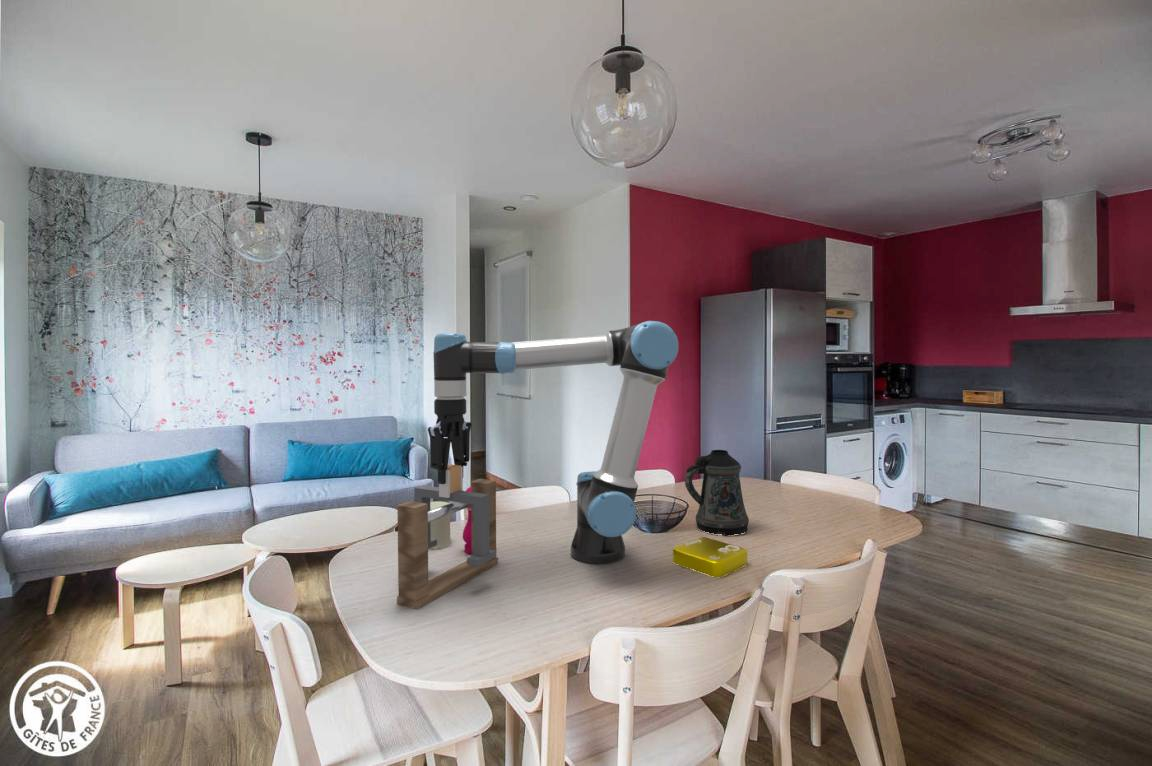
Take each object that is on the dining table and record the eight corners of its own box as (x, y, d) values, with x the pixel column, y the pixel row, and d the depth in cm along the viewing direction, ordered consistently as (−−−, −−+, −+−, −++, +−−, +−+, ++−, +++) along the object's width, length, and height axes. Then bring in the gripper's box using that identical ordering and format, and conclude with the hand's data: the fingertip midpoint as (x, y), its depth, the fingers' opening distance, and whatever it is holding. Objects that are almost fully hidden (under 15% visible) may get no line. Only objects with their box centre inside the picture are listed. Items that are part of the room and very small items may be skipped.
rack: (497, 563, 144) (497, 480, 143) (417, 609, 117) (416, 508, 117) (479, 559, 147) (478, 478, 146) (396, 603, 120) (395, 505, 119)
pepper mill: (483, 556, 149) (482, 484, 149) (458, 554, 151) (458, 482, 150) (492, 547, 156) (492, 478, 156) (468, 545, 158) (468, 477, 157)
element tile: (702, 550, 155) (702, 534, 155) (750, 565, 144) (750, 547, 144) (669, 563, 145) (669, 546, 145) (718, 580, 134) (718, 561, 134)
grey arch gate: (495, 556, 130) (495, 467, 129) (477, 566, 124) (477, 473, 123) (427, 543, 140) (427, 460, 139) (408, 551, 134) (407, 464, 133)
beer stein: (759, 530, 172) (760, 452, 171) (718, 542, 161) (719, 458, 160) (718, 518, 186) (719, 445, 185) (678, 527, 175) (678, 450, 174)
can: (421, 539, 163) (421, 500, 163) (453, 538, 164) (452, 499, 164) (415, 550, 154) (415, 508, 154) (448, 549, 155) (448, 507, 154)
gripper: (460, 395, 140) (461, 485, 141) (412, 399, 124) (413, 501, 125) (484, 396, 136) (484, 489, 137) (438, 400, 121) (439, 504, 122)
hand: (451, 494), depth 131 cm, fingers closed on grey arch gate, 4 cm apart
